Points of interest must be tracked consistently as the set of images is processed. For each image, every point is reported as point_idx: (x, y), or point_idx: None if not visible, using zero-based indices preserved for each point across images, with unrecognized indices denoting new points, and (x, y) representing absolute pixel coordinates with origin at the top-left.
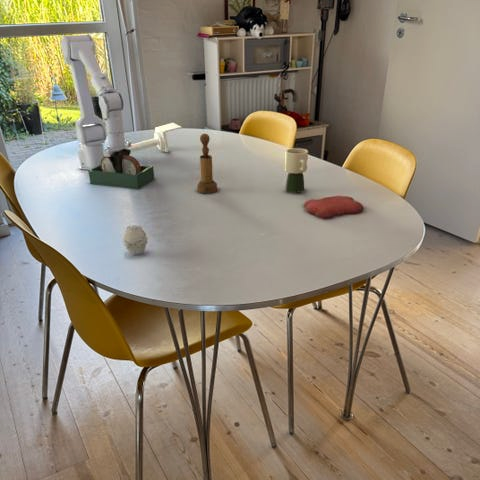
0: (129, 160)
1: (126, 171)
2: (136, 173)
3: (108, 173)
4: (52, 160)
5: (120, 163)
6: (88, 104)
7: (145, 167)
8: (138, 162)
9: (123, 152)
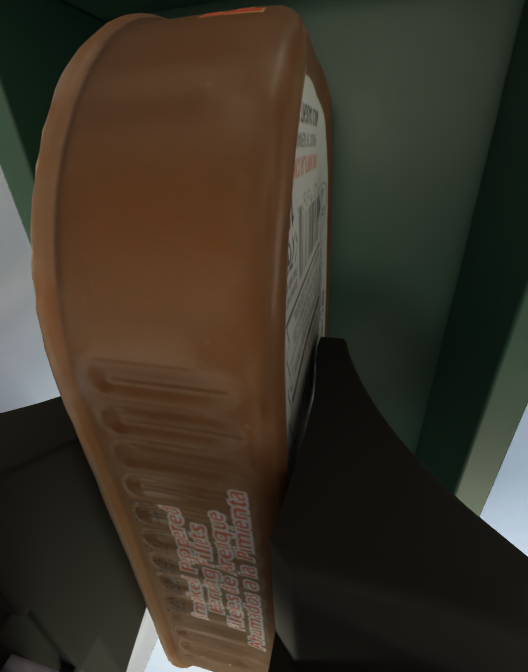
0: (286, 244)
1: (311, 286)
2: (317, 74)
3: (497, 459)
4: (153, 657)
5: (372, 422)
6: None
7: (21, 90)
8: (104, 35)
9: (53, 566)
